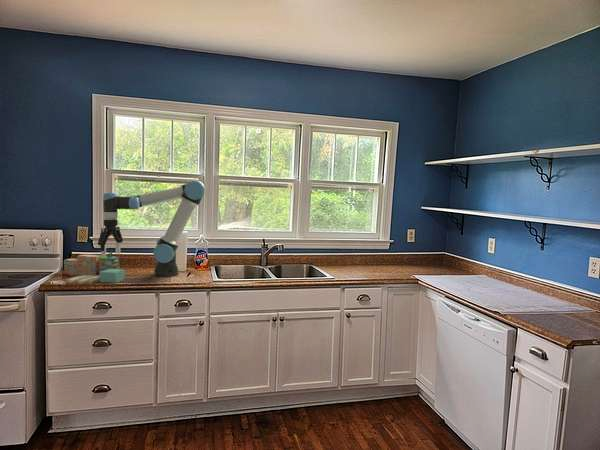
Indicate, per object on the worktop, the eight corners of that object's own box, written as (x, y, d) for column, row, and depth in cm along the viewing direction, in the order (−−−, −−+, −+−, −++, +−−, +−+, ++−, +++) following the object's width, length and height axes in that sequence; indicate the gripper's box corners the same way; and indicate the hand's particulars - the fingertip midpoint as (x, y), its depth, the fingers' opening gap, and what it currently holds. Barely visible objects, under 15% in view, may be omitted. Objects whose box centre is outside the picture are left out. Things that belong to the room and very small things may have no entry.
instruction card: (69, 282, 230) (69, 281, 230) (60, 284, 223) (60, 284, 223) (53, 281, 231) (53, 280, 231) (44, 283, 224) (44, 283, 224)
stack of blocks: (63, 274, 250) (63, 255, 249) (70, 272, 256) (70, 253, 255) (96, 276, 248) (95, 256, 247) (102, 274, 254) (101, 255, 253)
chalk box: (105, 273, 255) (105, 250, 254) (120, 274, 255) (120, 251, 254) (98, 276, 246) (98, 252, 245) (112, 277, 246) (112, 253, 245)
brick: (124, 279, 242) (124, 269, 241) (115, 282, 232) (115, 272, 231) (109, 278, 243) (109, 268, 242) (99, 282, 233) (99, 271, 232)
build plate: (107, 278, 242) (107, 275, 242) (89, 283, 226) (89, 281, 226) (83, 276, 244) (83, 274, 244) (64, 282, 228) (64, 279, 228)
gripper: (117, 217, 248) (118, 251, 250) (90, 220, 224) (91, 257, 225) (128, 218, 247) (129, 252, 249) (102, 220, 222) (103, 258, 224)
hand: (111, 255), depth 237 cm, fingers open, 13 cm apart
